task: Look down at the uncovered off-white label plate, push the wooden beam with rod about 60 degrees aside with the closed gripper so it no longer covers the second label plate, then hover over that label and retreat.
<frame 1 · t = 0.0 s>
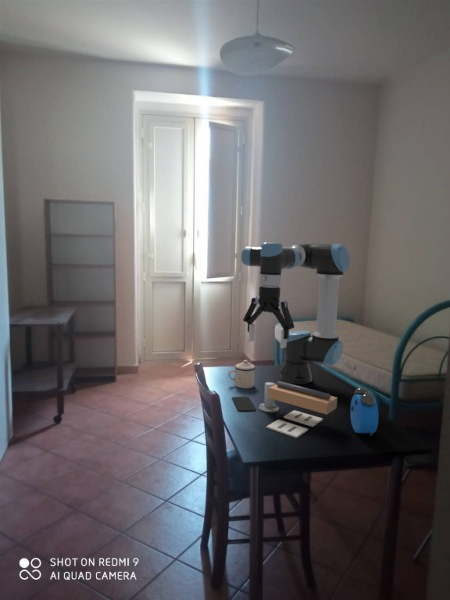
hand: (267, 344, 162), 28 cm above the table, tool pointing down, fingers open, 13 cm apart
label plate A: (303, 418, 166), on the table
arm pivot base: (268, 408, 175), on the table
phone: (243, 405, 179), on the table
teacup with lid: (241, 385, 201), on the table
wooden beam with rod: (296, 400, 167), point 7 cm above the table, hinge at 0.0°
label plate B: (287, 429, 157), on the table
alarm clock: (362, 432, 157), on the table
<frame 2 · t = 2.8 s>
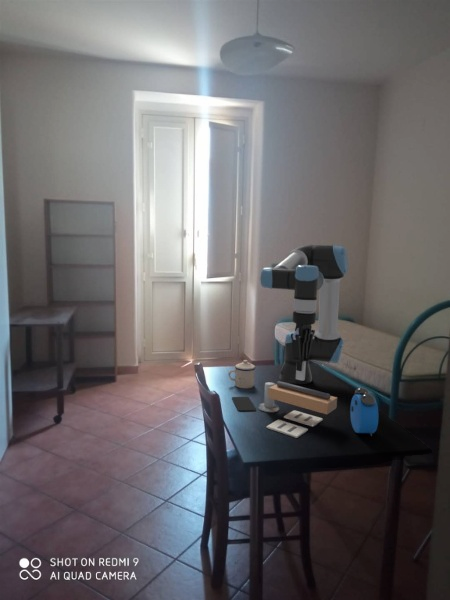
hand: (300, 379, 153), 19 cm above the table, tool pointing down, fingers closed
nothing on the table moved.
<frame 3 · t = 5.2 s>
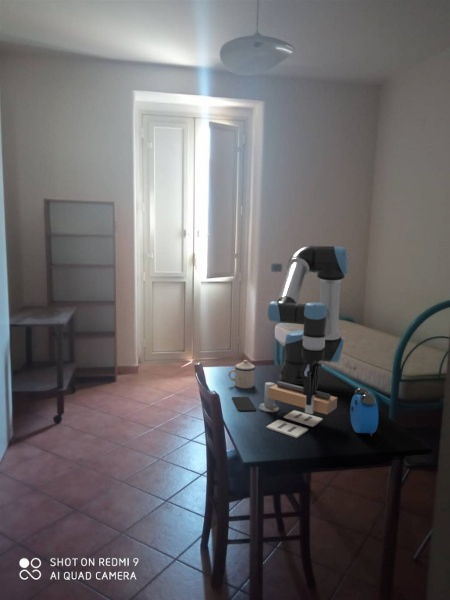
hand: (309, 412, 157), 6 cm above the table, tool pointing down, fingers closed
wooden beam with rod: (297, 400, 167), point 7 cm above the table, hinge at 0.2°, touching gripper
everything else where it was.
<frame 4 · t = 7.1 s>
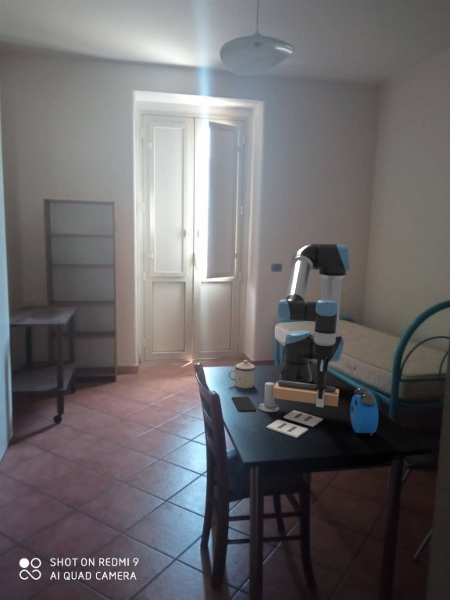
hand: (319, 406, 163), 6 cm above the table, tool pointing down, fingers closed
wooden beam with rod: (300, 396, 171), point 7 cm above the table, hinge at 21.1°, touching gripper
everything else where it was.
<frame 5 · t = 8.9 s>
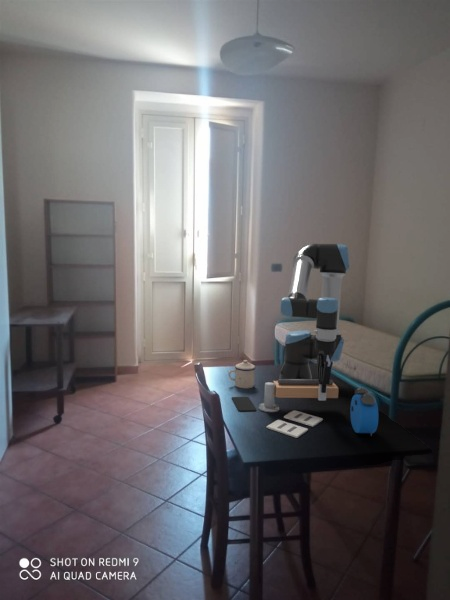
hand: (321, 399, 170), 6 cm above the table, tool pointing down, fingers closed
wooden beam with rod: (299, 392, 175), point 7 cm above the table, hinge at 41.4°, touching gripper
everything else where it was.
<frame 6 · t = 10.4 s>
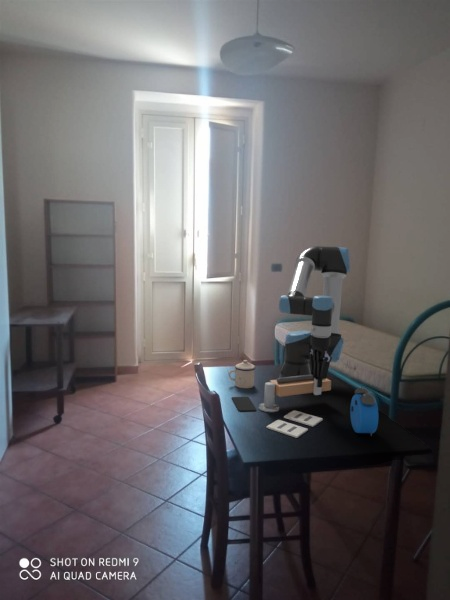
hand: (317, 394, 176), 6 cm above the table, tool pointing down, fingers closed
wooden beam with rod: (295, 389, 179), point 7 cm above the table, hinge at 60.8°, touching gripper
everything else where it was.
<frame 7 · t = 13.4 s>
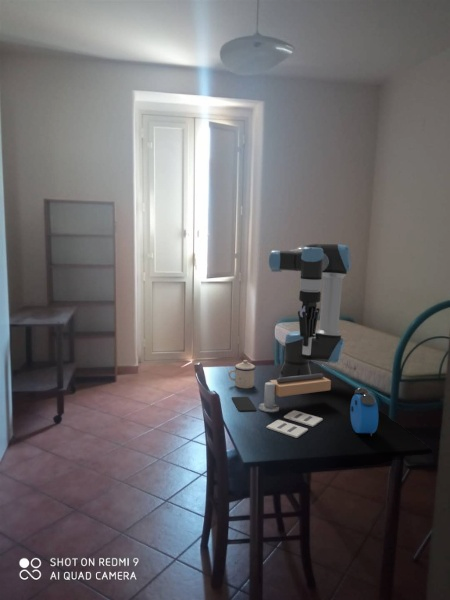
hand: (306, 354, 164), 25 cm above the table, tool pointing down, fingers closed
wooden beam with rod: (295, 389, 179), point 7 cm above the table, hinge at 61.2°
everything else where it was.
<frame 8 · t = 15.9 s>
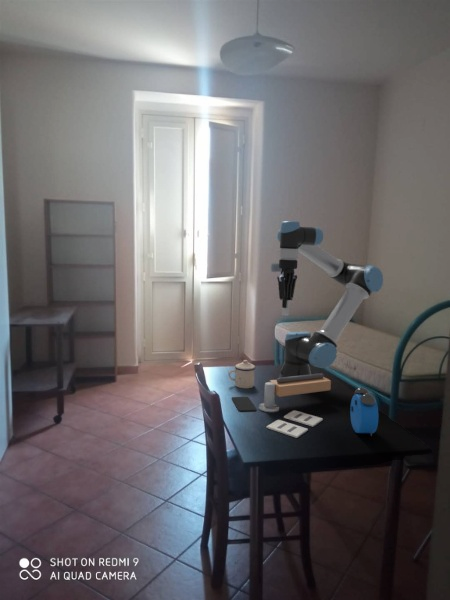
hand: (285, 315, 187), 34 cm above the table, tool pointing down, fingers closed
nothing on the table moved.
at the end: wooden beam with rod at +61° (first picture: +0°); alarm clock moved 0.2 cm from its start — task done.
